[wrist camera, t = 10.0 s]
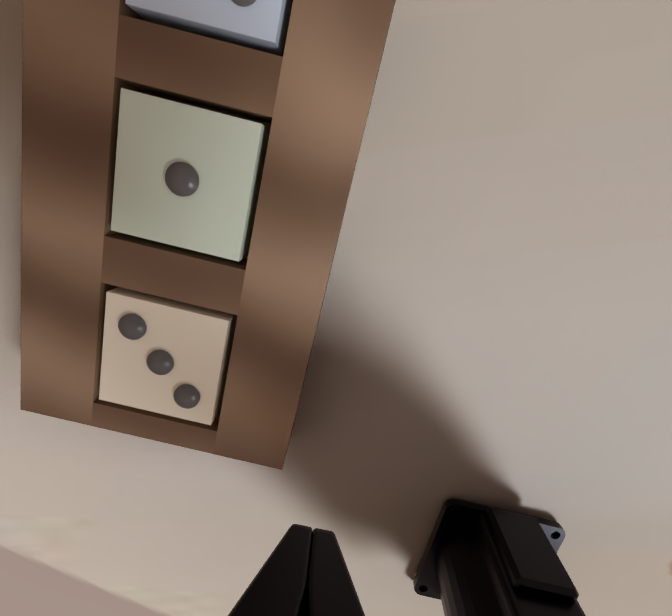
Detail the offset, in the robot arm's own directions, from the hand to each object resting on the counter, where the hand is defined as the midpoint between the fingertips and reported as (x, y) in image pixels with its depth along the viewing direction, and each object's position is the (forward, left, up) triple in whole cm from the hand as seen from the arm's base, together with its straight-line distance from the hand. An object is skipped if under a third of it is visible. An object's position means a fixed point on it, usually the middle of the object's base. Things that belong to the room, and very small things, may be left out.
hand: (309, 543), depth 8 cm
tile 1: (+6, +7, -11) cm, 14 cm away
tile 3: (-2, +7, -11) cm, 13 cm away
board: (+6, +7, -11) cm, 14 cm away
